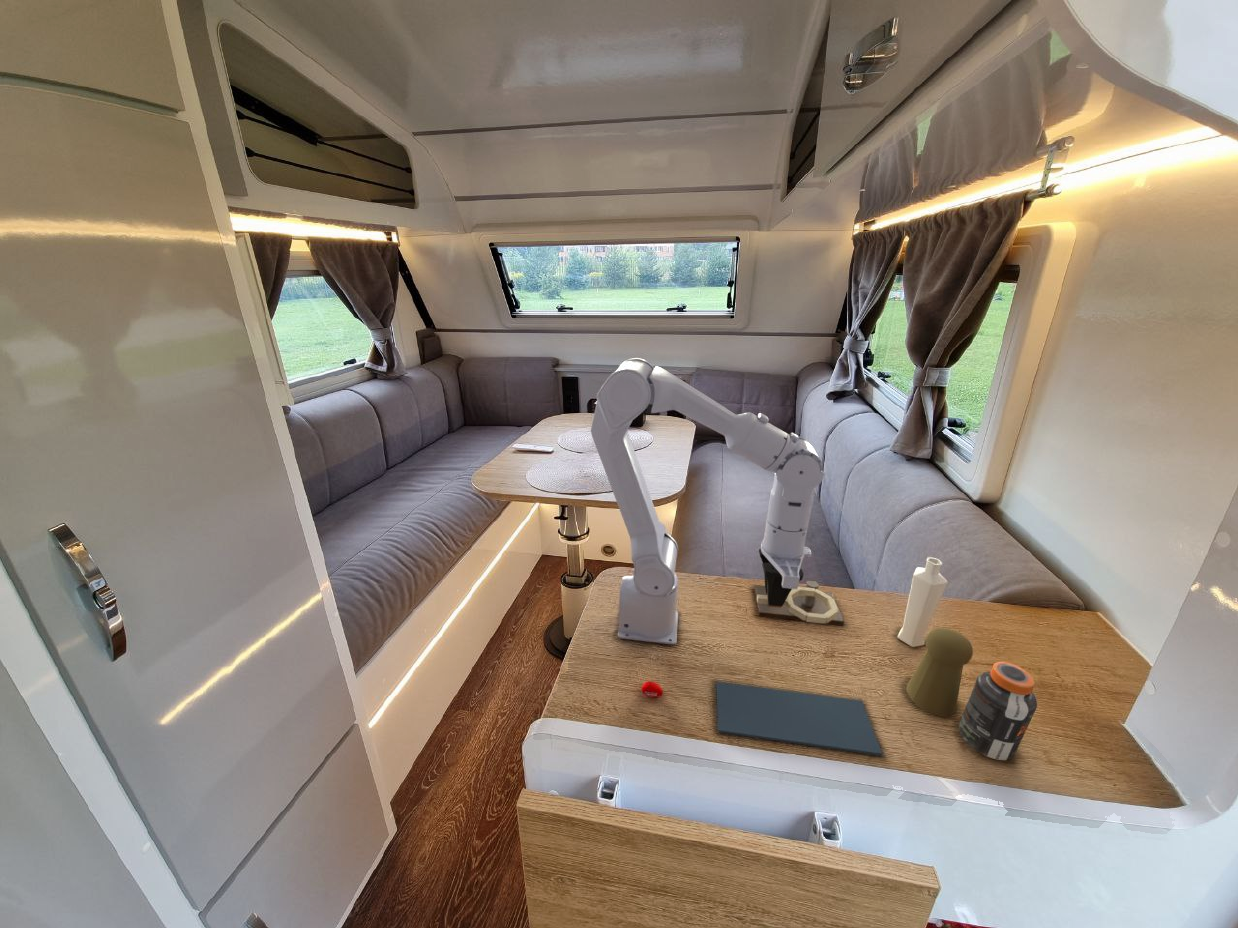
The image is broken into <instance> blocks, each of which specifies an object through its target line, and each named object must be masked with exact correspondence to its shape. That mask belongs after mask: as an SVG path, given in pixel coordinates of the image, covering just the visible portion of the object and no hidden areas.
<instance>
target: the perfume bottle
mask: <svg viewBox="0 0 1238 928" xmlns="http://www.w3.org/2000/svg"><path fill="white" fill-rule="evenodd" d="M925 560H926V564H925V567H918V566H917V567H916V568H915V570H914V572H913V575H912V580H911V584H910V590H909V595H908V599H907V605H906V608H905V609H906V610H905V613H904V618H903V619H904V620H903V623H902V627H901V629H900V630H899V633H898V634H897V639H898V640H901V641H902V642H904V643H905V644H907V645H908V646H910V647H912V648H916V647H920V646H924V645H925V646H926V640H925V635H926V633H927V630H928V628H929V626H930V624H931V622H932V619H933V616H934V615H935V613H936V610H937V608H938V605H939V603H940V601H941V599H942V596H943V595H944V592H945V590H946V587H947V585H948V584H949V582H948V580H947V579H946V578H945V577H944V576H943V575H942V573H940V570H941V567H942V565H944V563H943V562H942V561H941V560H940V559H939V558H935V557H931V556H927V558H926V559H925Z"/></svg>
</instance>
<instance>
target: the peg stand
mask: <svg viewBox="0 0 1238 928" xmlns="http://www.w3.org/2000/svg"><path fill="white" fill-rule="evenodd" d="M753 586H754V587H753V589H754V595H755V601H756V607H757V611H758V616H759V617H765V618H766V617H768V618H774V619H775V618H776V619H784V620H785V619H786V620H795V621H801V622H802V621H804V620H802V619H801V618H799V617H797V616H796V615H794V614H793V613H791V612H789V610H788V609H787V606H781V608H779V607H769V606H768V604H759V603H757V595H767V594H766V590H765V585H762V584H761V585H760V584H754V585H753ZM805 587H807V588H815V590H816V589H818V590H819V583H818V582H817V581H814V580H807V581H806V583H805ZM822 592H823V593H825V594H827V595H829V596H830V597H832V599H834V601H835V603H836V606H837V608H838V614H837V616H836V617H835V618H834V619H832V620H831V621H830V622H828V623H827V624H830V625H839V626H844V624H845V620H844V618H843V615H842V612H841V610H840V608H839V606H838V603H837V601H836V599H835V596H834V593H833V592H831V591H822ZM792 600H793V603H794V605H796V606H797V607H799V608H801V609H802V610H804V611H805V612H807V613H816V614H825V613H826V612H828V611H829V608H828V605H827V604H826V603H825V602H823V601H821V600H819V599H818V598H816V597H814V596H806V595H798V596H796V597H795V598H793V599H792ZM804 622H806V620H805V621H804Z"/></svg>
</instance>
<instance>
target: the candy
mask: <svg viewBox="0 0 1238 928" xmlns="http://www.w3.org/2000/svg"><path fill="white" fill-rule="evenodd" d="M641 692H642V694H643V695H645V696H647V697H650V698H660V697H662V696H663V694H664V691H663V688H662V687H661V686H660V685H659V683H656V682H654V681H651V680H649V681H646V682H644V683H643V684H642V686H641Z"/></svg>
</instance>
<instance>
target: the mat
mask: <svg viewBox="0 0 1238 928" xmlns="http://www.w3.org/2000/svg"><path fill="white" fill-rule="evenodd" d="M715 691H716V693H715V694H716V714H717V732H718V733H720V734H728V735H733V736H740V737H741V736H742V737H748V738H755V739H761V740H769V741H776V742H782V743H790V744H795V745H803V746H810V747H816V748H823V749H830V750H837V751H844V752H845V751H846V752H851V753H858V754H865V755H871V756H872V755H873V756H879V757H883V754H884V753H883V750H882V748H881V745H880V743H879V741H878V738H877V735H876V733H875V730H874V728H873V725H872V722H871V720H870V717H869V714H868V712H867V709H866V706H865V704H864V702H863V700H861V699H860V700H859V699H854V698H853V699H852V698H844V697H836V696H828V695H822V694H816V693H815V694H814V693H808V692H798V691H793V690H784V689H778V688H777V689H775V688H769V687H761V686H754V685H753V686H752V685H746V684H745V685H744V684H739V683H738V684H737V683H730V682H722V681H715Z"/></svg>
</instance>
